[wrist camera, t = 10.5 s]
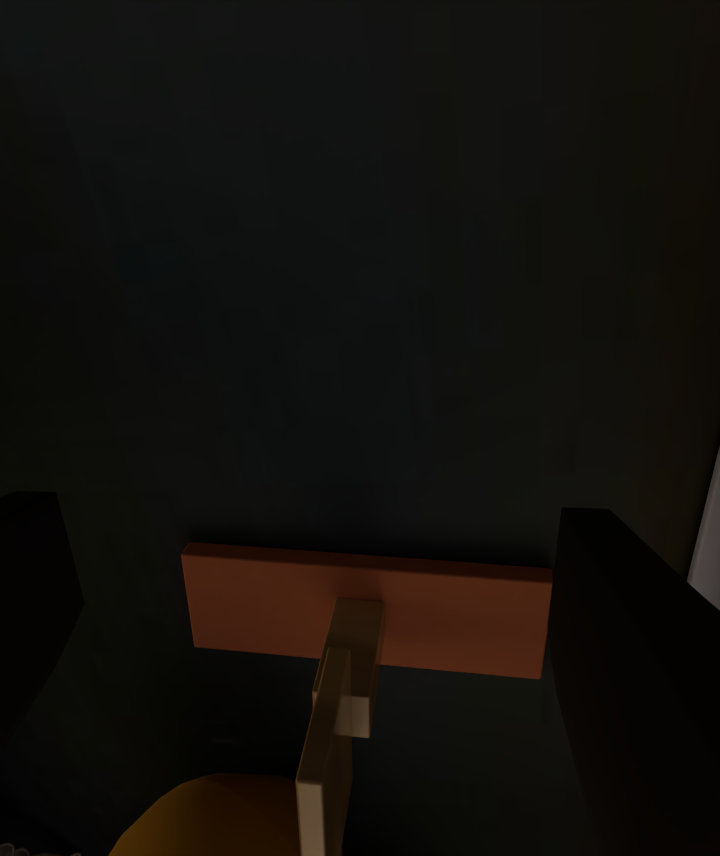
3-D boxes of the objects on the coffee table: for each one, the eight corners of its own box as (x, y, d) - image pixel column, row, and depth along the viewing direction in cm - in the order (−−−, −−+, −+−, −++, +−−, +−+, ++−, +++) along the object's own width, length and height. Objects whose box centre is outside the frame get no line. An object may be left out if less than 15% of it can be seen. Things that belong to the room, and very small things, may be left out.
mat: (538, 662, 23) (541, 680, 23) (201, 632, 25) (193, 647, 24) (551, 567, 22) (554, 583, 21) (188, 540, 23) (179, 554, 22)
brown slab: (384, 677, 23) (349, 928, 16) (338, 672, 24) (284, 919, 16) (384, 557, 21) (346, 786, 14) (334, 554, 22) (271, 777, 14)
